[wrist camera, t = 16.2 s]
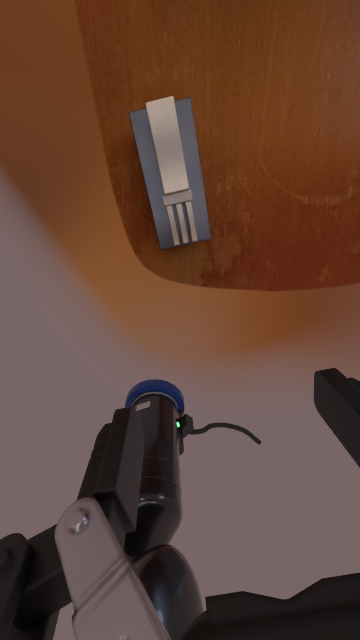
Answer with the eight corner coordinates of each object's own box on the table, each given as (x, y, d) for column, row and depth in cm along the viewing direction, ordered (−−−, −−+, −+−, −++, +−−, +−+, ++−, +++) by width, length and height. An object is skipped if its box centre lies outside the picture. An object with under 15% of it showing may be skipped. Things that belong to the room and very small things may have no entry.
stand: (203, 234, 35) (211, 238, 28) (162, 243, 35) (160, 250, 29) (185, 121, 29) (190, 96, 23) (137, 133, 30) (128, 112, 23)
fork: (145, 117, 24) (141, 103, 21) (175, 109, 23) (176, 94, 20) (172, 244, 28) (172, 247, 25) (198, 238, 28) (201, 241, 25)
